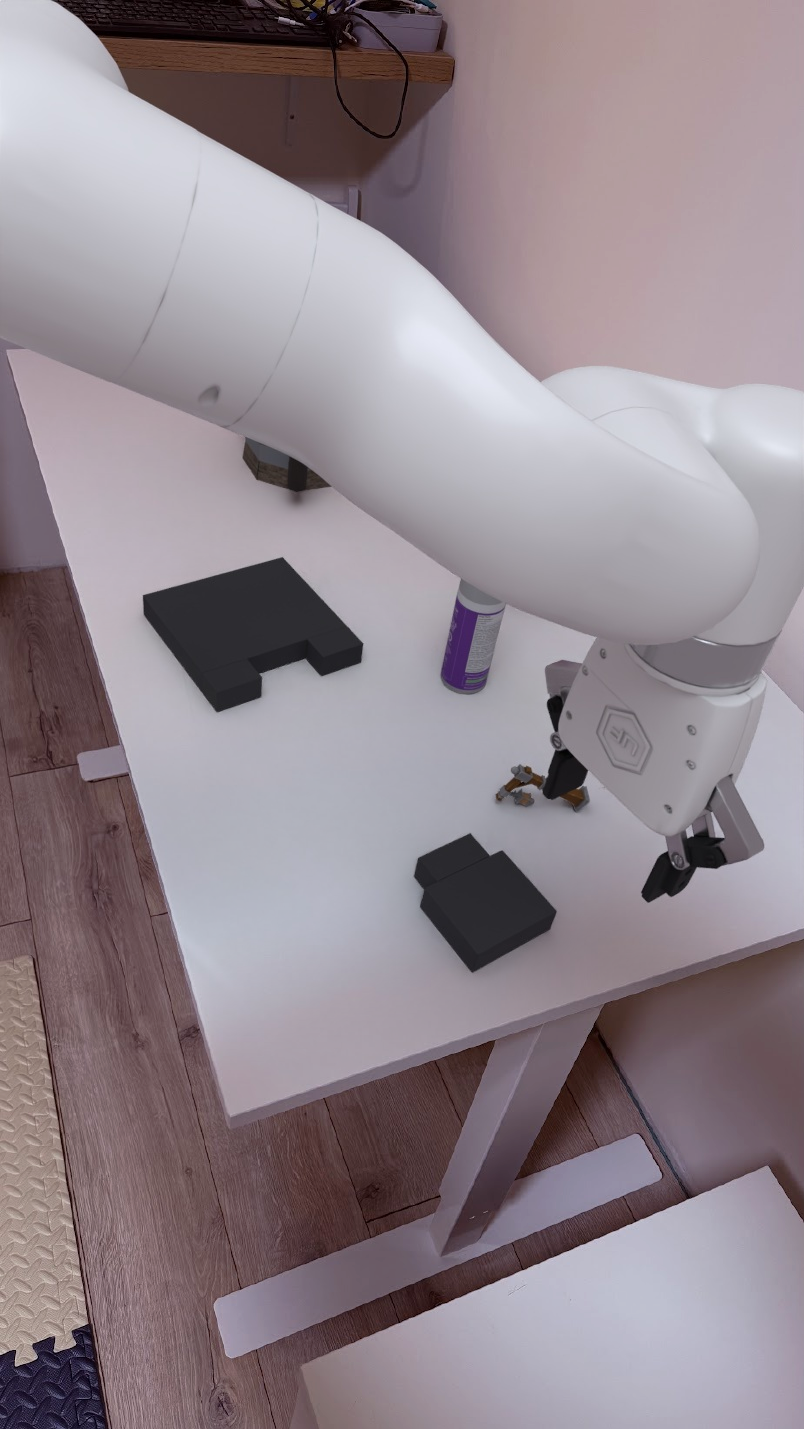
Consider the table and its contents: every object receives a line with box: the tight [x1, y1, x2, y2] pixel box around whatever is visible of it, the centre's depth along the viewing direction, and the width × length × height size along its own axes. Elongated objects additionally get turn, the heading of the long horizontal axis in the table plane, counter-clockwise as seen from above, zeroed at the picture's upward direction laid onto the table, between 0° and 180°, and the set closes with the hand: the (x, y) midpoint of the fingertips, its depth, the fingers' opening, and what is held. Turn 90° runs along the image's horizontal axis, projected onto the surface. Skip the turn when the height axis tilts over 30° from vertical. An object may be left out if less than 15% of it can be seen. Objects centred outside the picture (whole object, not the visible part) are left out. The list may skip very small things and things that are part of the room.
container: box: [440, 578, 507, 695], centre depth 97 cm, size 5×5×15 cm
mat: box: [142, 556, 364, 713], centre depth 101 cm, size 16×16×2 cm
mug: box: [242, 436, 332, 493], centre depth 120 cm, size 20×14×15 cm
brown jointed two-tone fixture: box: [494, 763, 591, 813], centre depth 90 cm, size 2×8×4 cm, turn 94°
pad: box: [413, 832, 558, 973], centre depth 81 cm, size 8×10×2 cm
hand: (609, 838), depth 65 cm, fingers open, 8 cm apart
